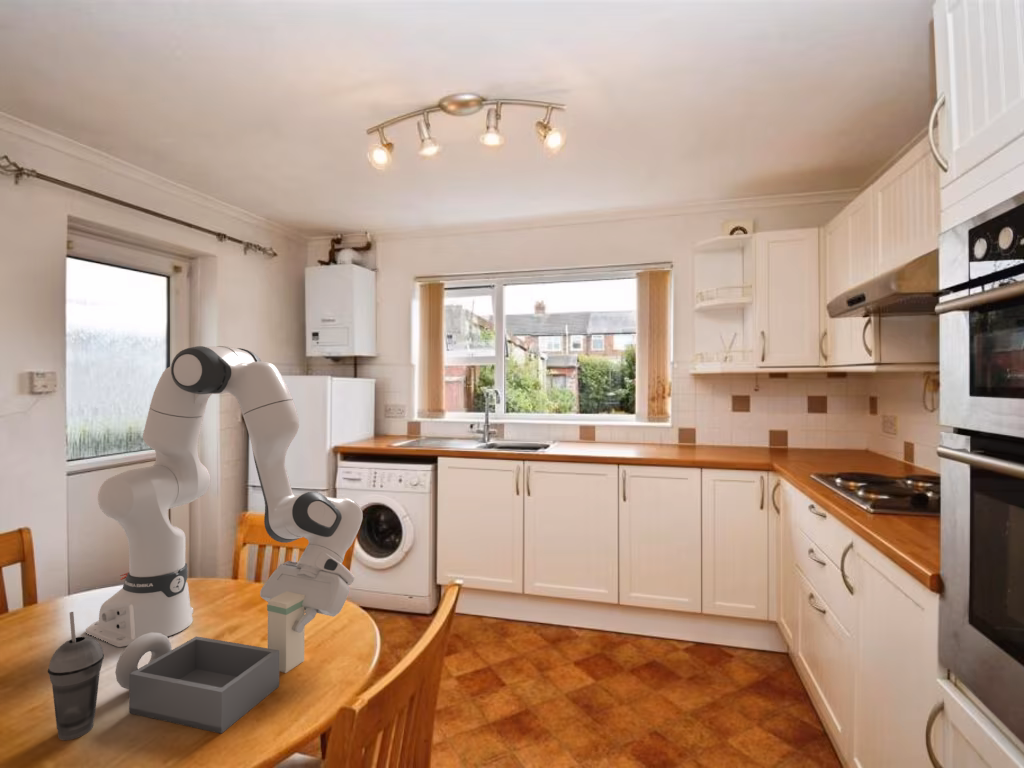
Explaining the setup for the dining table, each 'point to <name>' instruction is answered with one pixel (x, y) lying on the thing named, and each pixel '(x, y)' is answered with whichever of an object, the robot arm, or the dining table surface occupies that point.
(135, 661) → the donut
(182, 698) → the box
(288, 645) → the juice carton
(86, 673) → the beverage cup
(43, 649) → the dining table surface
